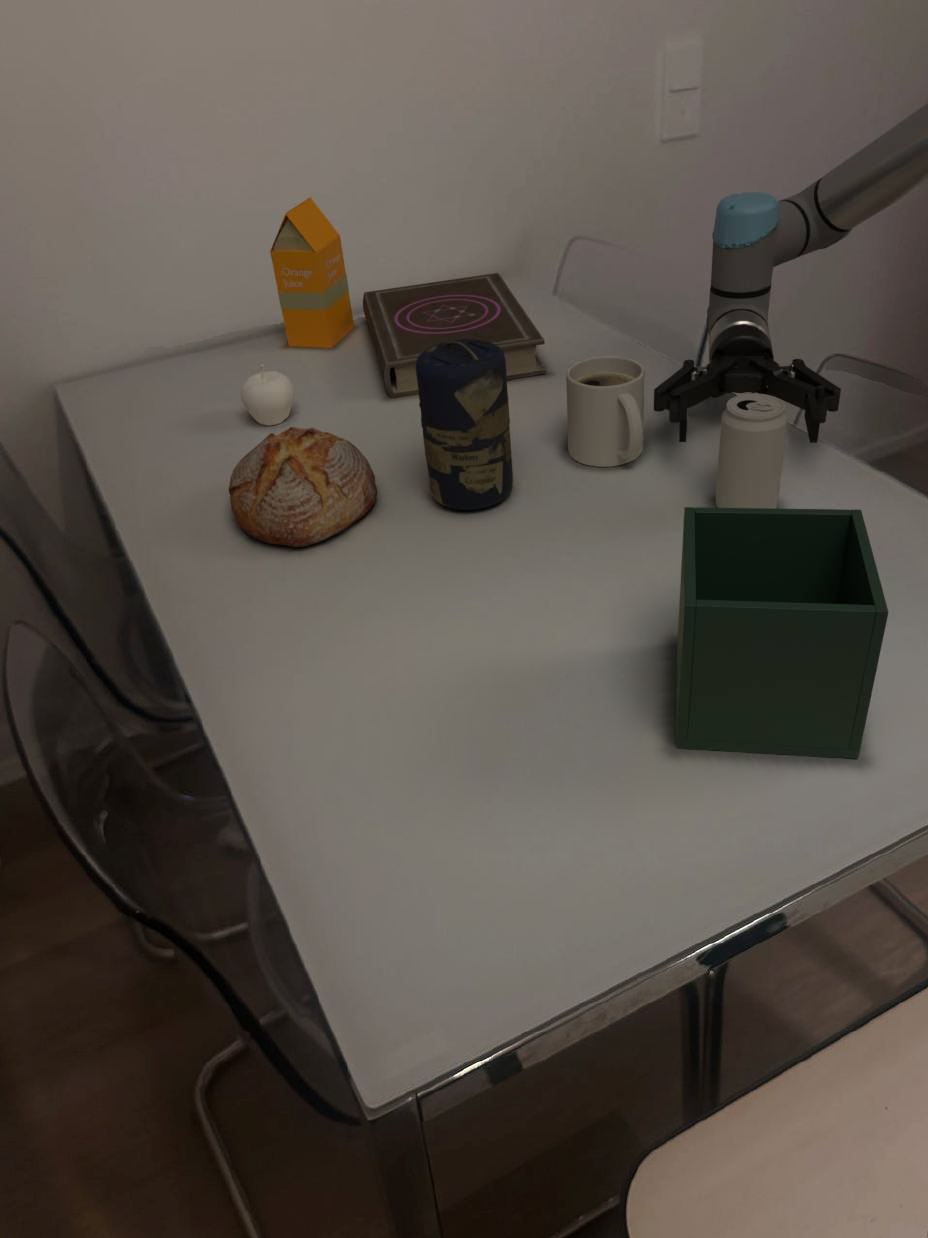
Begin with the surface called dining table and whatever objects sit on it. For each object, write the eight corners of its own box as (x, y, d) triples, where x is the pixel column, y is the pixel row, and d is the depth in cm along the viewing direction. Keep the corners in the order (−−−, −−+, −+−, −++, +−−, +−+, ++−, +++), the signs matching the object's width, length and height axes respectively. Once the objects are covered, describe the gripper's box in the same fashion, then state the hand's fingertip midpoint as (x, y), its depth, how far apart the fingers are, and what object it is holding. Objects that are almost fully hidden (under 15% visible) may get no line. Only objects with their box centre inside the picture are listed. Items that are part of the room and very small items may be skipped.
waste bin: (837, 648, 87) (861, 509, 79) (858, 759, 77) (888, 611, 68) (677, 642, 90) (684, 506, 81) (676, 748, 79) (684, 605, 71)
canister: (449, 525, 109) (432, 368, 99) (418, 488, 116) (399, 338, 106) (528, 501, 112) (520, 346, 101) (493, 467, 119) (482, 318, 108)
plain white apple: (250, 435, 132) (237, 378, 127) (244, 414, 137) (231, 358, 132) (302, 424, 133) (291, 367, 128) (294, 404, 138) (283, 348, 134)
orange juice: (355, 326, 161) (334, 195, 149) (333, 348, 154) (309, 212, 142) (311, 325, 163) (287, 196, 151) (287, 346, 156) (260, 213, 144)
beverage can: (729, 488, 110) (737, 386, 103) (786, 502, 107) (799, 397, 100) (704, 515, 106) (711, 410, 99) (763, 530, 103) (774, 423, 96)
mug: (575, 431, 125) (574, 354, 119) (652, 434, 122) (655, 356, 116) (558, 473, 116) (555, 393, 110) (640, 478, 114) (642, 396, 108)
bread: (239, 573, 107) (211, 492, 101) (239, 485, 123) (215, 411, 117) (389, 539, 108) (370, 457, 102) (370, 456, 123) (353, 381, 117)
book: (545, 373, 139) (544, 339, 136) (387, 398, 137) (382, 364, 134) (500, 303, 164) (498, 272, 161) (365, 323, 162) (360, 292, 159)
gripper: (842, 380, 123) (866, 463, 107) (637, 382, 128) (629, 461, 111) (851, 321, 119) (877, 397, 102) (638, 325, 124) (630, 398, 107)
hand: (748, 431), depth 107 cm, fingers open, 13 cm apart
